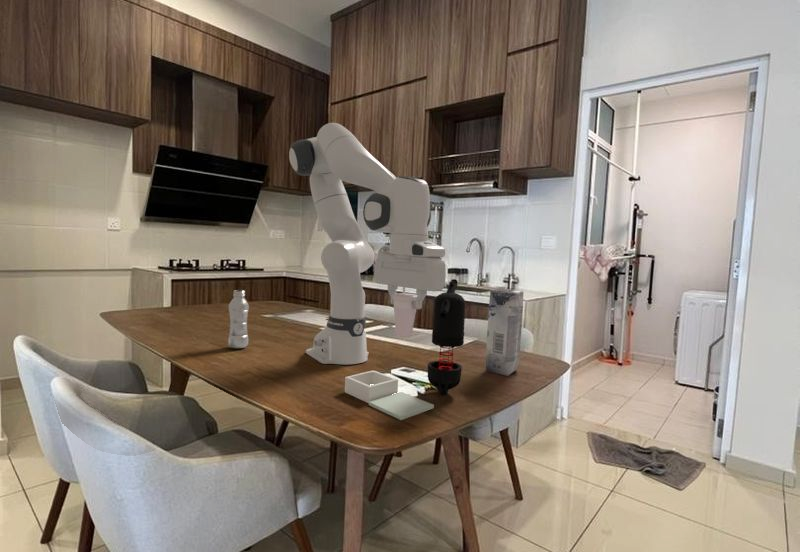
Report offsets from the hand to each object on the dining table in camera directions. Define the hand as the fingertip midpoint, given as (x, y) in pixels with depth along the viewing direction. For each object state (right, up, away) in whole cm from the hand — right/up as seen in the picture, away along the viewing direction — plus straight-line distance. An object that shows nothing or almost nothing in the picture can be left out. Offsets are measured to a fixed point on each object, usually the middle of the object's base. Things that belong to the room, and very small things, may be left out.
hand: (405, 306), depth 99 cm
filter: (+10, -24, +11) cm, 28 cm away
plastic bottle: (-57, -18, +47) cm, 76 cm away
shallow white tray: (-9, -23, +10) cm, 26 cm away
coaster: (-1, -24, +2) cm, 24 cm away
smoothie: (0, -7, 0) cm, 7 cm away
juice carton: (+31, -23, +35) cm, 52 cm away
